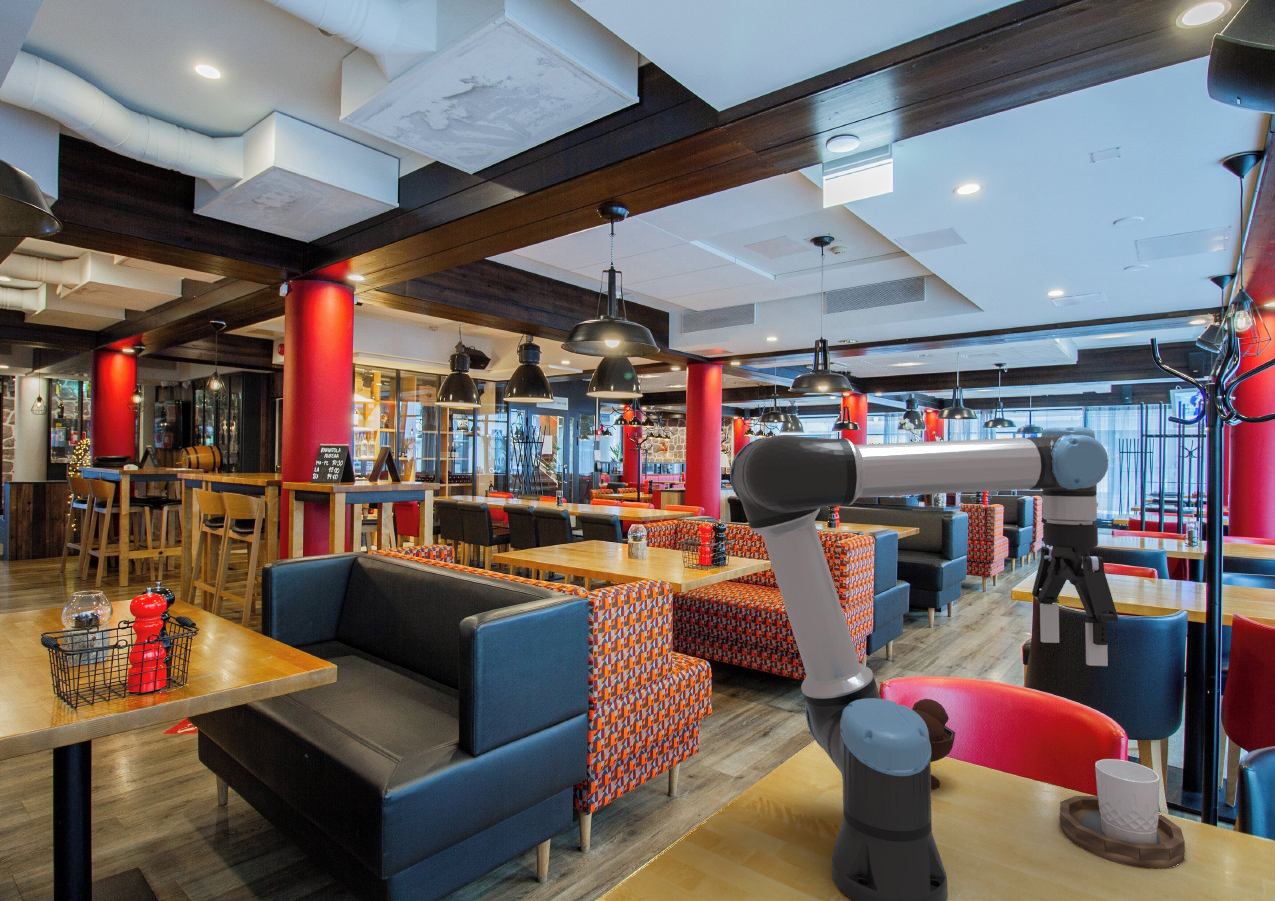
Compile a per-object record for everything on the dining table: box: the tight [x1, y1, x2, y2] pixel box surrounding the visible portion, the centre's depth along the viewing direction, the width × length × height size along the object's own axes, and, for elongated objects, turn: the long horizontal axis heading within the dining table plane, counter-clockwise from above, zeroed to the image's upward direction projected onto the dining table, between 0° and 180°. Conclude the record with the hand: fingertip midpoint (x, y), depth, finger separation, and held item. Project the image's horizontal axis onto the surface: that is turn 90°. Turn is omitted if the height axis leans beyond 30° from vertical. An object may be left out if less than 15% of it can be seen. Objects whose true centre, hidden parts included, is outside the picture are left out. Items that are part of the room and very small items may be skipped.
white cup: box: [1094, 758, 1160, 844], centre depth 101 cm, size 8×8×10 cm
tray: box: [1059, 795, 1186, 870], centre depth 104 cm, size 16×16×3 cm
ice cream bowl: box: [911, 698, 956, 791], centre depth 123 cm, size 11×11×15 cm
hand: (1071, 653), depth 109 cm, fingers open, 13 cm apart
